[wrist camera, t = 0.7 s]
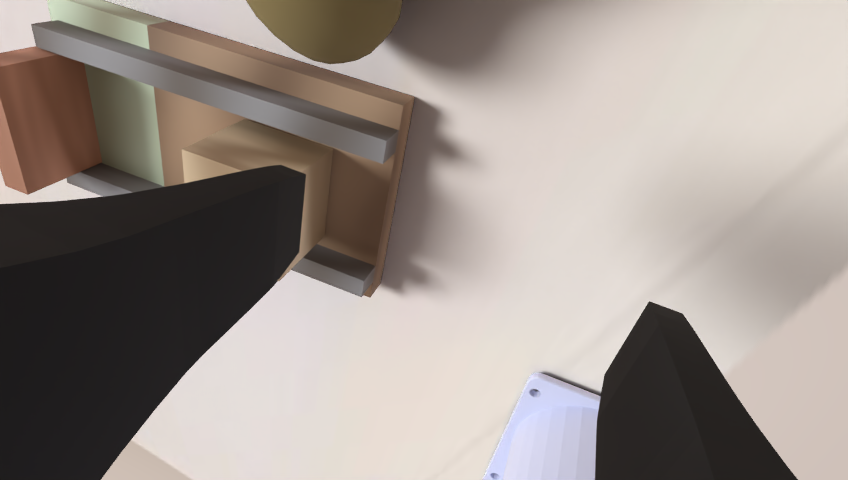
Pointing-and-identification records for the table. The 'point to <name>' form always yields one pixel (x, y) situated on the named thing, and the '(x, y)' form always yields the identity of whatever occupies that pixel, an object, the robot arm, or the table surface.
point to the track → (195, 120)
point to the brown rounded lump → (329, 25)
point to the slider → (263, 148)
